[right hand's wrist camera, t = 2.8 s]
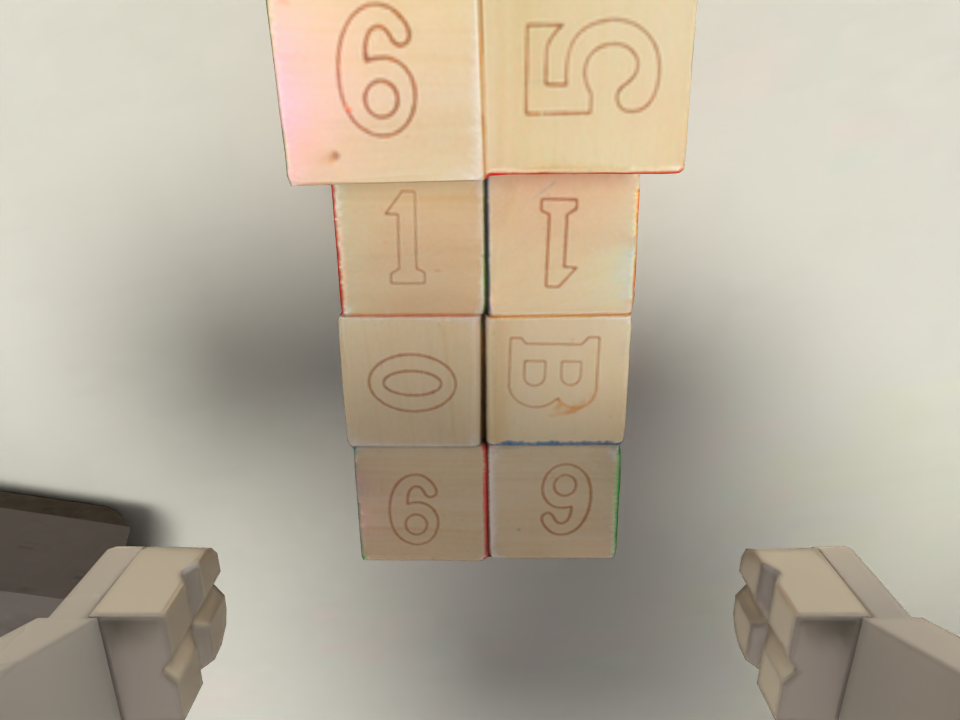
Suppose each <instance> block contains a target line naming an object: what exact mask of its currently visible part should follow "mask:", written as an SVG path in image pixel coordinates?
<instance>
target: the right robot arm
mask: <svg viewBox="0 0 960 720" xmlns="http://www.w3.org/2000/svg"><path fill="white" fill-rule="evenodd" d="M220 571H221V570H220V565H219V560H218V555H217V553H216V552H215V551H214V550H213V549H212V548H192V547H144V546H116V547H114V548H111V549H108V550H107V551H106V552H105V553H104V554H103V555H102V556H101V558H100V559H99V560H98V561H97V562H96V563H95V565H94V566H93V567H92V568H91V569H90V570H89V571H88V573H87V574H86V575H85V576H84V577H83V578H82V579H81V581H80V582H79V583H78V584H77V585H76V586H75V588H74V589H73V590H72V591H71V592H70V593H69V594H68V596H67V597H66V598H65V599H64V600H63V601H62V603H61V604H60V605H59V606H58V607H57V608H56V609H55V611H54V612H53V613H52V614H51V615H50V616H49V617H48V618H36V619H34V620H32V621H31V622H29V623H27V624H25V625H23V626H21V627H19V628H17V629H15V630H13V631H11V632H9V633H7V634H6V635H4V636H2V637H0V720H185V719H186V717H187V715H188V713H189V711H190V709H191V707H192V705H193V702H194V700H195V698H196V696H197V694H198V692H199V690H200V688H201V686H202V684H203V681H202V675H201V669H202V668H204V667H205V666H206V665H208V664H209V663H210V662H212V661H213V660H215V658H216V655H217V653H218V651H219V649H220V647H221V645H222V641H223V636H224V632H225V627H226V602H225V595H224V594H223V593H222V592H221V591H220V590H219V589H218V588H217V587H216V586H215V585H214V582H215V580H216V579H217V577H218V575H219V573H220ZM739 571H740V573H741V575H742V577H743V579H744V580H745V582H746V585H745V586H744V587H743V588H742V589H741V590H740V591H739V592H738V593H737V594H736V595H735V604H734V612H733V616H734V626H735V634H736V637H737V641H738V644H739V647H740V649H741V651H742V653H743V655H744V658H745V660H747V661H748V662H750V663H751V664H752V665H754V666H755V667H756V668H758V669H759V675H758V681H757V684H758V686H759V688H760V690H761V692H762V694H763V696H764V698H765V700H766V702H767V704H768V706H769V708H770V710H771V712H772V714H773V716H774V718H775V720H960V637H958V636H956V635H954V634H952V633H951V632H949V631H947V630H945V629H943V628H941V627H939V626H937V625H935V624H933V623H931V622H929V621H928V620H926V619H924V618H911V616H910V615H909V614H908V613H907V612H906V611H905V609H904V608H903V607H902V606H901V605H900V604H899V603H898V601H897V600H896V599H895V598H894V597H893V596H892V594H891V593H890V592H889V591H888V590H887V589H886V588H885V586H884V585H883V584H882V583H881V582H880V581H879V580H878V578H877V577H876V576H875V575H874V574H873V573H872V571H871V570H870V569H869V568H868V567H867V566H866V565H865V563H864V562H863V561H862V560H861V559H860V558H859V557H858V555H857V554H856V553H855V552H854V551H853V550H852V549H850V548H848V547H846V546H829V547H812V548H761V549H746V550H745V552H744V554H743V556H742V559H741V565H740V570H739Z"/></svg>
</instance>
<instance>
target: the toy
mask: <svg viewBox="0 0 960 720" xmlns="http://www.w3.org/2000/svg"><path fill="white" fill-rule="evenodd" d="M129 533H130V527H128V526H124V523H123V519H122V516H121V515H120V514H119V513H118V512H117V511H116V510H114V509H111V508H108V507H105V506H98V505H92V504H85V503H78V502H71V501H64V500H57V499H50V498H43V497H36V496H30V495H23V494H16V493H9V492H2V491H0V637H2V636H4V635H6V634H7V633H9V632H11V631H13V630H15V629H17V628H19V627H21V626H23V625H25V624H27V623H29V622H31V621H32V620H34V619H36V618H48V617H49V616H50V615H51V614H52V613H53V612H54V611H55V609H56V608H57V607H58V606H59V605H60V604H61V603H62V601H63V600H64V599H65V598H66V597H67V596H68V594H69V593H70V592H71V591H72V590H73V589H74V588H75V586H76V585H77V584H78V583H79V582H80V581H81V579H82V578H83V577H84V576H85V575H86V574H87V573H88V571H89V570H90V569H91V568H92V567H93V566H94V565H95V563H96V562H97V561H98V560H99V559H100V558H101V556H102V555H103V554H104V553H105V552H106V551H107V550H108V549H111V548H114V547H116V546H126V543H127V540H128V537H129Z"/></svg>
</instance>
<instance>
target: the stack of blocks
mask: <svg viewBox="0 0 960 720" xmlns="http://www.w3.org/2000/svg"><path fill="white" fill-rule="evenodd" d="M266 6H267V14H268V22H269V30H270V38H271V46H272V53H273V61H274V70H275V78H276V87H277V95H278V104H279V112H280V120H281V127H282V135H283V142H284V150H285V157H286V169H287V177H288V179H289V182H290V184H291V186H303V185H331V186H332V198H333V210H334V223H335V236H336V248H337V260H338V274H339V287H340V299H341V309H342V313H341V314H340V316H339V318H338V325H339V341H340V356H341V371H342V384H343V395H344V406H345V417H346V428H347V439H348V442H349V444H350V445H351V446H352V447H353V448H354V458H355V477H356V489H357V501H358V515H359V525H360V540H361V552H362V557H363V560H460V561H482V560H484V559H485V558H487V557H497V558H613V557H614V555H615V552H616V542H617V522H618V502H619V489H620V461H621V456H620V443H621V442H622V441H623V440H624V434H625V422H626V405H627V389H628V371H629V353H630V337H631V311H632V307H633V301H634V285H635V274H636V256H637V229H638V210H639V191H640V190H639V174H670V173H680V172H681V171H682V170H684V166H685V155H686V143H687V129H688V115H689V101H690V88H691V74H692V61H693V49H694V37H695V24H696V12H697V0H266Z"/></svg>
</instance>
